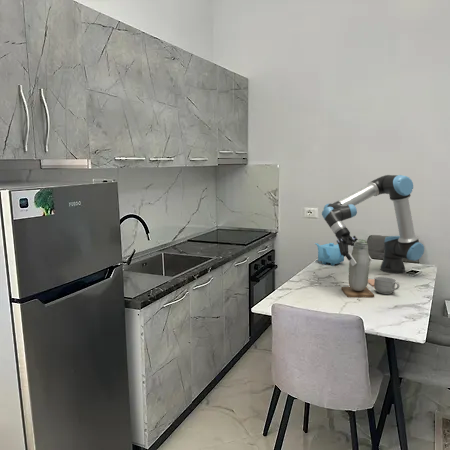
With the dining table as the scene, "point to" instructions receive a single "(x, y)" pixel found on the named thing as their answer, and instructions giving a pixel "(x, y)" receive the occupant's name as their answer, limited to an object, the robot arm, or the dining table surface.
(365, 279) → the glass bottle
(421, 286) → the dining table surface
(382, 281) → the teacup
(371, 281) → the terracotta tile
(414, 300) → the dining table surface
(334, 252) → the teakettle
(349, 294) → the walnut board
